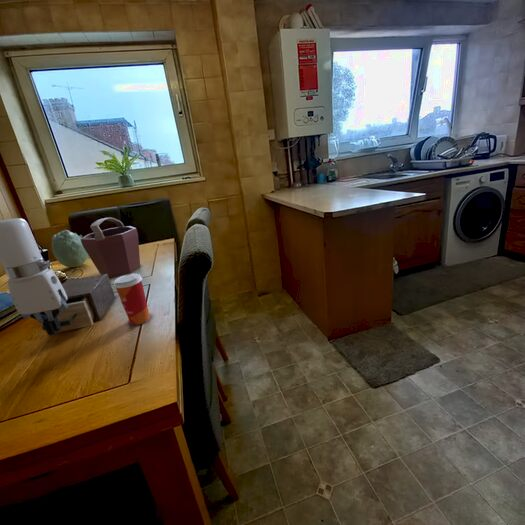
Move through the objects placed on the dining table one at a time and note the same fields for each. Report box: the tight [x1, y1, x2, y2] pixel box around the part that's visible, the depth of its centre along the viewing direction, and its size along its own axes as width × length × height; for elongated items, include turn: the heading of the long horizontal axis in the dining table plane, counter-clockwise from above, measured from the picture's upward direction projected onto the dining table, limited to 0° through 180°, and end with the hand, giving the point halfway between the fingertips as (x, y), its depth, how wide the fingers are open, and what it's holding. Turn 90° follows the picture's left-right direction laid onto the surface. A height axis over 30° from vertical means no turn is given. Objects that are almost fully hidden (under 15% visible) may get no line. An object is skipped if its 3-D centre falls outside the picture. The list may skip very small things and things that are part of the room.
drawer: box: [41, 295, 96, 335], centre depth 86 cm, size 20×12×8 cm, turn 12°
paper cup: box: [113, 273, 151, 326], centre depth 82 cm, size 8×8×14 cm
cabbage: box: [51, 229, 90, 268], centre depth 144 cm, size 16×19×20 cm
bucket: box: [80, 216, 141, 278], centre depth 128 cm, size 24×22×25 cm
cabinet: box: [61, 274, 116, 322], centre depth 93 cm, size 17×14×10 cm
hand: (54, 332), depth 75 cm, fingers closed
